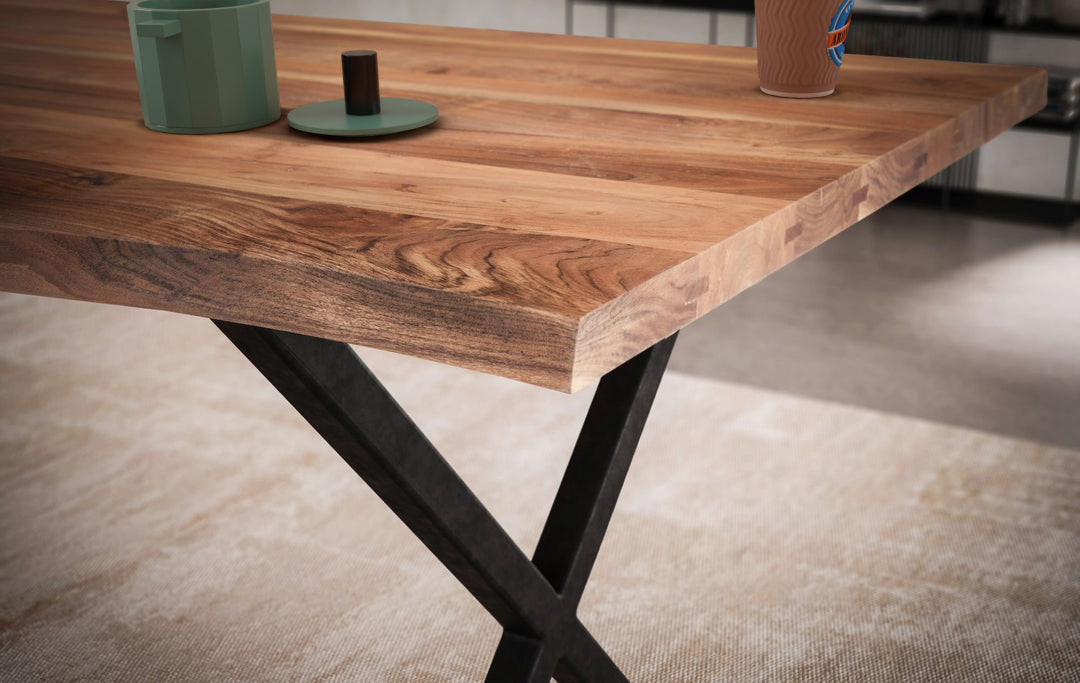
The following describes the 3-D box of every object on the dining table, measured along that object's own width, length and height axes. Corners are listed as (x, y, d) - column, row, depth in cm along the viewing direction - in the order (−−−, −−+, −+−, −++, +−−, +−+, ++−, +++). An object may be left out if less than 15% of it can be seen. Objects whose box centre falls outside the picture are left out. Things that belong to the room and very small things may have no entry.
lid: (262, 139, 95) (254, 63, 93) (322, 107, 107) (316, 39, 104) (412, 145, 93) (407, 68, 90) (456, 111, 104) (454, 42, 102)
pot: (101, 138, 96) (81, 13, 92) (199, 97, 111) (185, -11, 107) (230, 144, 94) (216, 16, 90) (312, 101, 109) (303, -10, 105)
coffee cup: (848, 104, 106) (862, -35, 101) (734, 98, 108) (742, -37, 104) (855, 83, 115) (868, -45, 110) (750, 78, 117) (758, -47, 113)
